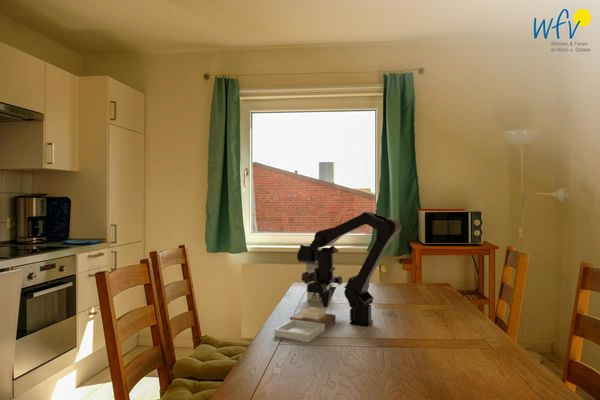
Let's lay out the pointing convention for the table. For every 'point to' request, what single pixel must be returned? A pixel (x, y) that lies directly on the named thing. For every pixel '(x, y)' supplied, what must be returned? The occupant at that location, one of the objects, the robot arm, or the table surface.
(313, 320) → the brown rectangular slab
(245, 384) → the table surface
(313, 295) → the coffee box
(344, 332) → the table surface
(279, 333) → the box
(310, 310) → the block
